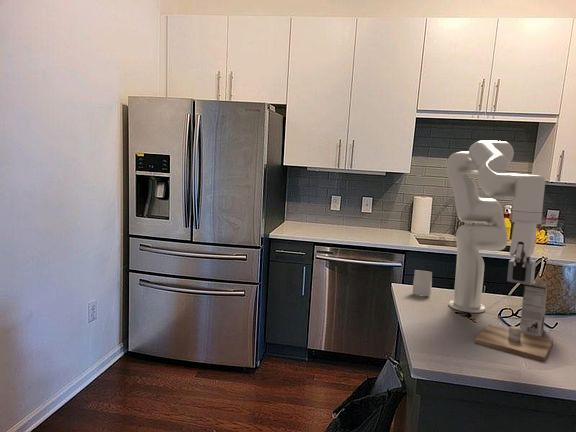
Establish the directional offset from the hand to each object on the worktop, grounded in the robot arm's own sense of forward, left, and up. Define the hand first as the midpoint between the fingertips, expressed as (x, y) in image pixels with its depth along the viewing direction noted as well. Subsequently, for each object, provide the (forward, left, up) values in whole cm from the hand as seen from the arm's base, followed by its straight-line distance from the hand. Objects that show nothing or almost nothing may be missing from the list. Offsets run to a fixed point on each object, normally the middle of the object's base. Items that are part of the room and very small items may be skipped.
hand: (520, 277), depth 125 cm
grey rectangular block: (-29, -40, -21) cm, 54 cm away
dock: (0, 0, -20) cm, 20 cm away
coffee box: (-16, +2, -20) cm, 26 cm away
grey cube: (0, 0, -1) cm, 1 cm away
